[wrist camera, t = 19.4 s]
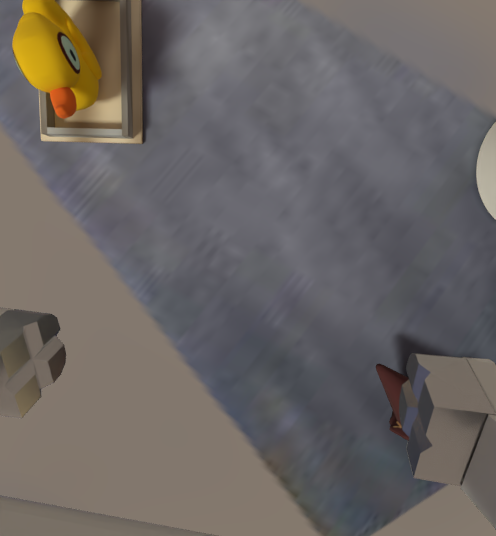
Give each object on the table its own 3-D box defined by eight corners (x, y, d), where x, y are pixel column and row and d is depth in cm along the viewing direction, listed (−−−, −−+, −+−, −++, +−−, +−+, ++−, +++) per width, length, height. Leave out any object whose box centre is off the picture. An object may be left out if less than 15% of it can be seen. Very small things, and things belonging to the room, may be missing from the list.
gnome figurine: (352, 407, 38) (444, 499, 40) (418, 367, 35) (512, 468, 38) (345, 364, 44) (425, 446, 47) (400, 328, 41) (482, 417, 44)
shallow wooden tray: (141, -7, 39) (135, -19, 37) (142, 143, 41) (137, 140, 39) (36, -10, 39) (24, -22, 37) (43, 141, 41) (32, 137, 39)
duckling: (124, 129, 40) (88, 101, 30) (75, 144, 40) (22, 121, 30) (87, 14, 38) (35, -55, 29) (35, 30, 38) (-35, -34, 29)
